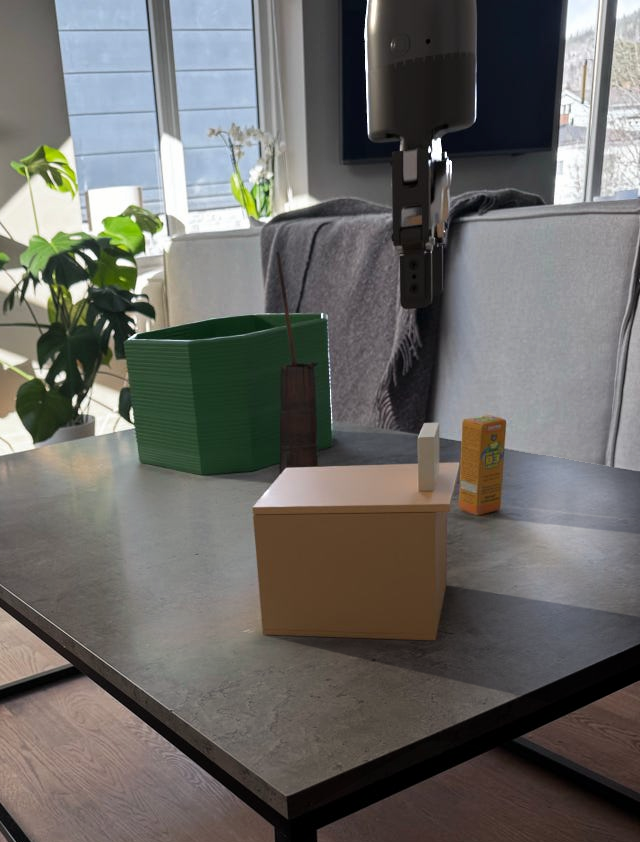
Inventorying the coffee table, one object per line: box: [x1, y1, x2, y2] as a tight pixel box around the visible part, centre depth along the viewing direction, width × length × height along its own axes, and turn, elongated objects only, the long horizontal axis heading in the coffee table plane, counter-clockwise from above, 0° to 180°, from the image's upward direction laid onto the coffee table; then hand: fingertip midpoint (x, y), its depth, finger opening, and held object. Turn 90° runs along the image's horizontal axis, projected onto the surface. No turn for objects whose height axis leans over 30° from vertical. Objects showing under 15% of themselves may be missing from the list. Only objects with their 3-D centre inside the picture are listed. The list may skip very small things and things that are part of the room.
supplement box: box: [458, 414, 507, 516], centre depth 98 cm, size 3×3×10 cm
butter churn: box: [275, 251, 319, 476], centre depth 114 cm, size 9×10×28 cm
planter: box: [122, 312, 334, 476], centre depth 137 cm, size 26×26×18 cm
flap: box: [251, 421, 461, 515], centre depth 74 cm, size 15×12×5 cm
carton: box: [252, 512, 448, 641], centre depth 77 cm, size 14×12×10 cm
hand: (422, 301), depth 71 cm, fingers open, 8 cm apart
